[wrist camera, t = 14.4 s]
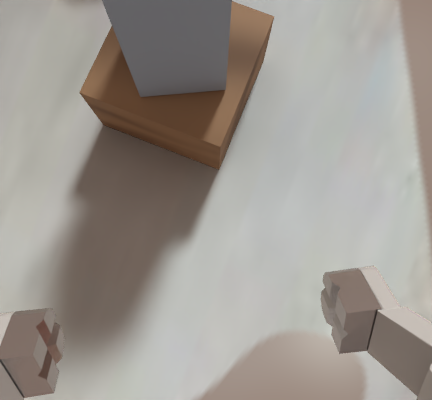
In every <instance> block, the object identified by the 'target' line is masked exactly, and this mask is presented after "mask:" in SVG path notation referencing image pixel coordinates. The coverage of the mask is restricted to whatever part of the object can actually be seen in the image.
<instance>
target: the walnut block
mask: <svg viewBox="0 0 432 400" xmlns="http://www.w3.org/2000/svg"><path fill="white" fill-rule="evenodd" d="M273 19H274V16H271V15H268V14H266V13H263V12H260V11H257V10H255V9H252V8H249V7H246V6H244V5H241V4H238V3H235V2H233V1H232V7H231V21H230V36H229V50H228V65H227V80H226V90H218V91H206V92H194V93H183V94H171V95H159V96H148V97H140V95H139V92H138V90H137V87H136V85H135V82H134V80H133V77H132V75H131V72H130V70H129V67H128V65H127V62H126V60H125V57H124V54H123V52H122V49H121V47H120V44H119V42H118V39H117V37H116V34H115V32H114V29H113V27H111V29H110V31H109V33H108V35H107V37H106V39H105V41H104V43H103V45H102V47H101V49H100V51H99V53H98V56H97V58H96V60H95V62H94V64H93V66H92V68H91V70H90V72H89V74H88V76H87V78H86V80H85V82H84V84H83V86H82V88H81V91H80V94H81V95H82V97H83V98H84V99H85V101H86V102H87V103H88V105H89V106H90V107H91V109H92V110H93V111H94V113H95V114H96V115H97V117H98V118H99V119H100V121H101V122H102V123H103V125H105V126H108V127H111V128H113V129H116V130H118V131H121V132H123V133H126V134H129V135H131V136H134V137H136V138H139V139H141V140H144V141H147V142H149V143H152V144H154V145H157V146H159V147H162V148H165V149H167V150H170V151H172V152H175V153H177V154H180V155H183V156H185V157H188V158H190V159H193V160H195V161H198V162H201V163H203V164H206V165H208V166H211V167H213V168H216V169H220V166H221V164H222V161H223V159H224V156H225V154H226V151H227V149H228V147H229V144H230V142H231V139H232V137H233V134H234V132H235V129H236V127H237V124H238V122H239V120H240V117H241V115H242V112H243V110H244V107H245V105H246V102H247V100H248V98H249V95H250V93H251V90H252V88H253V85H254V83H255V80H256V78H257V75H258V73H259V71H260V68H261V66H262V63H263V61H264V56H265V52H266V48H267V44H268V40H269V36H270V32H271V28H272V24H273Z"/></svg>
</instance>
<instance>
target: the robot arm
mask: <svg viewBox="0 0 432 400" xmlns="http://www.w3.org/2000/svg"><path fill="white" fill-rule="evenodd" d="M323 284H324V286H325V288H324V289H323V290H322V292H321V306H322V311H323V314H324V317H325V320H326V322H327V323H328V324H330V325H331V326H332V334H331V335H332V337H333V340H334V342H335V345H336V347H337V349H338V352H339V354H340V353H350V352H359V351H368V353H369V354H370V355H371V356H372V357H374V358H375V359H376V360H377V361H378V362H379V363H380V364H382V365H383V366H384V367H385V368H386V369H387V370H388V371H389V372H391V373H392V374H393V375H394V376H395V377H396V378H397V379H399V380H400V381H401V382H402V383H403V384H404V385H405V386H406V387H408V388H409V389H410V390H411V391H412V392H413V393H414V394H416V395H417V396H418V397H417V400H432V322H430V321H429V320H427V319H425V318H424V317H422V316H421V315H419V314H417V313H416V312H414V311H412V310H411V309H409V308H407V307H401V306H400V305H399V303H398V301H397V300H396V298H395V297H394V295H393V293H392V292H391V290H390V289H389V287H388V285H387V284H386V282H385V280H384V279H383V277H382V276H381V274H380V272H379V271H378V269H377V268H376V267H375V266H369V267H362V268H353V269H346V270H339V271H332V272H325V273H324V275H323ZM55 318H56V315H55V313H54V311H53V309H52V308H45V309H36V310H26V311H16V312H9V313H0V400H24V398H26V397H32V396H38V395H44V394H51V393H54V391H55V387H56V382H57V378H58V374H59V370H58V368H57V366H56V364H57V363H58V362H59V360H60V359H61V358H62V356H63V352H64V334H63V330H62V328H61V326H60V325H59V324H57V323H55Z"/></svg>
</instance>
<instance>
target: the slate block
mask: <svg viewBox="0 0 432 400" xmlns="http://www.w3.org/2000/svg"><path fill="white" fill-rule="evenodd" d="M102 1H103V4H104V6H105V9H106V12H107V14H108V17H109V19H110V22H111V24H112V27H113V29H114V32H115V34H116V37H117V39H118V42H119V44H120V47H121V49H122V52H123V54H124V57H125V60H126V62H127V65H128V67H129V70H130V72H131V75H132V77H133V80H134V82H135V85H136V87H137V90H138V92H139V95H140V97H148V96H159V95H171V94H183V93H194V92H206V91H218V90H226V80H227V65H228V50H229V36H230V21H231V7H232V0H102Z"/></svg>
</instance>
